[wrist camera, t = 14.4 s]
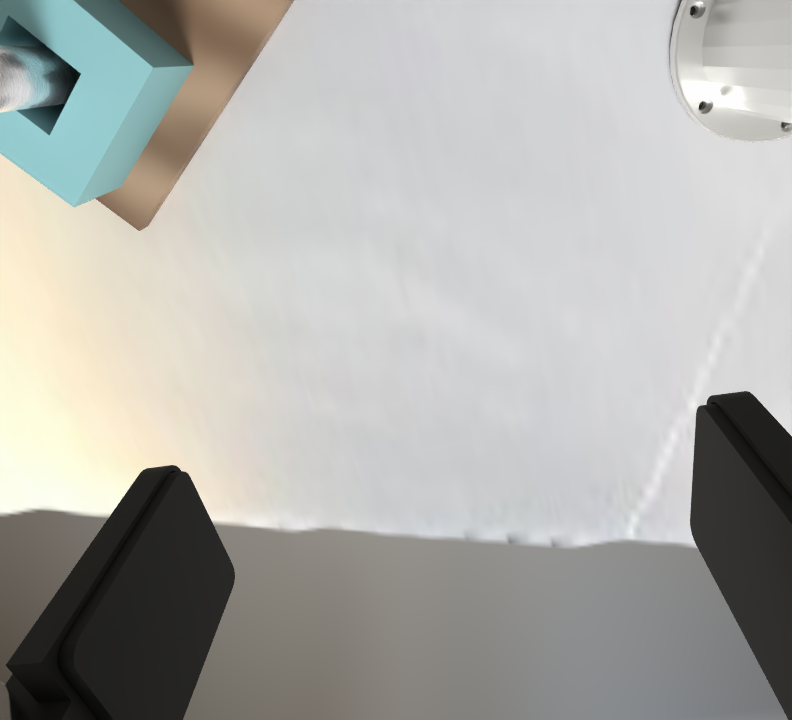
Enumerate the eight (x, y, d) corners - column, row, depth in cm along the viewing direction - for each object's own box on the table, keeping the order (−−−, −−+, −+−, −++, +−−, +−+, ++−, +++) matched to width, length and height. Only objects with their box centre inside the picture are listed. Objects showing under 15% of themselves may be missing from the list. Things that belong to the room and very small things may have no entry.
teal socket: (47, -61, 33) (-26, -83, 27) (194, 65, 36) (153, 67, 30) (-16, 83, 37) (-90, 87, 31) (121, 186, 39) (74, 207, 34)
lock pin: (70, 14, 35) (-146, -12, 21) (136, 70, 36) (-27, 78, 23) (38, 77, 36) (-179, 90, 23) (103, 128, 38) (-67, 167, 24)
